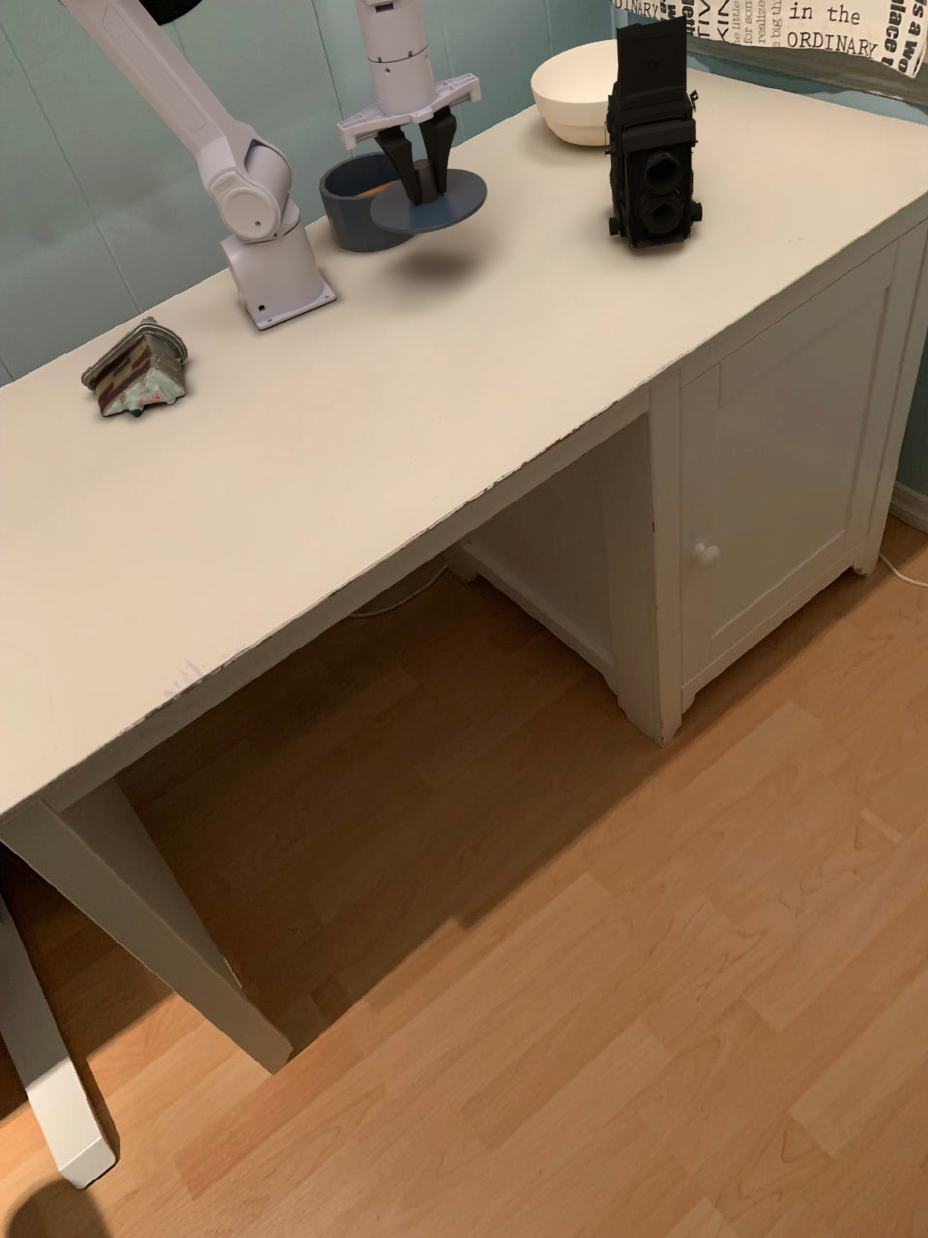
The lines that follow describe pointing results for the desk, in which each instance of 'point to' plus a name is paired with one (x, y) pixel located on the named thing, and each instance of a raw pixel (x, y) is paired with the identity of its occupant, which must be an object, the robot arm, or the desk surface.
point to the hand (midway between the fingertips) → (426, 194)
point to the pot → (358, 202)
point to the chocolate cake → (139, 370)
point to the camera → (652, 136)
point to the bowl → (577, 91)
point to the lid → (429, 201)
